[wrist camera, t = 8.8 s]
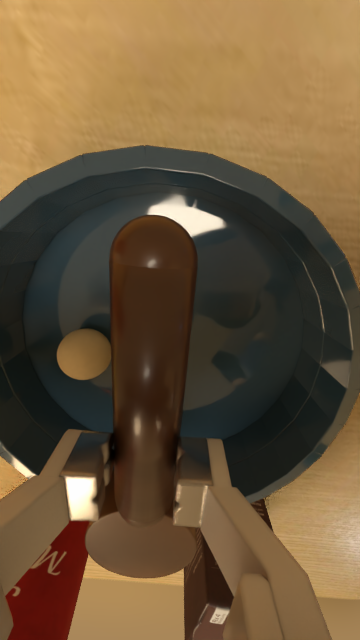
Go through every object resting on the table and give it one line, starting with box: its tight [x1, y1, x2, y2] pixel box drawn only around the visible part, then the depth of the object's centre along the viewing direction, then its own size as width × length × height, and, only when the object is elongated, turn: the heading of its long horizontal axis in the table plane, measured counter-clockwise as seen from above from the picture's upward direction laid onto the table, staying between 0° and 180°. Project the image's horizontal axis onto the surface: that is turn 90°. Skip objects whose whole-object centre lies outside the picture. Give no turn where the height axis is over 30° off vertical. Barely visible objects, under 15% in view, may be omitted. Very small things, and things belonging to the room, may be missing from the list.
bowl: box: [0, 145, 360, 503], centre depth 13 cm, size 19×19×5 cm
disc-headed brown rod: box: [85, 215, 198, 578], centre depth 8 cm, size 15×5×2 cm, turn 175°
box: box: [184, 499, 274, 640], centre depth 18 cm, size 6×6×7 cm
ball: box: [57, 328, 111, 380], centre depth 14 cm, size 3×3×3 cm
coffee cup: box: [5, 520, 89, 640], centre depth 14 cm, size 8×8×15 cm
